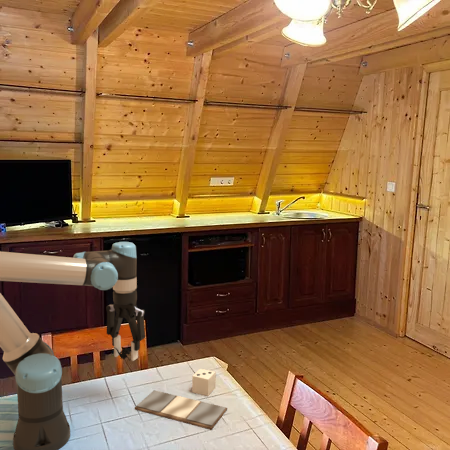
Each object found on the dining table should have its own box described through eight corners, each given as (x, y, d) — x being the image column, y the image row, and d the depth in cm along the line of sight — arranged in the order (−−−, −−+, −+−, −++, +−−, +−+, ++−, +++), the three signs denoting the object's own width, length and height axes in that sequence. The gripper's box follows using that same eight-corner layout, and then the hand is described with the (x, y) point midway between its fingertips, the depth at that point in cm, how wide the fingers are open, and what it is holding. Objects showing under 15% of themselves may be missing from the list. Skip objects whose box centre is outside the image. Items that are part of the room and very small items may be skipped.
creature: (122, 355, 162) (109, 359, 154) (124, 339, 162) (111, 343, 154) (142, 358, 159) (131, 363, 152) (144, 342, 160) (132, 346, 152)
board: (134, 409, 150) (134, 406, 150) (154, 391, 161) (154, 389, 161) (211, 429, 140) (211, 426, 140) (227, 409, 151) (227, 406, 151)
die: (192, 392, 161) (192, 375, 160) (199, 384, 167) (200, 368, 166) (208, 396, 159) (208, 379, 158) (215, 388, 164) (215, 371, 163)
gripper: (156, 290, 152) (156, 358, 156) (107, 283, 159) (109, 347, 163) (143, 297, 145) (144, 367, 149) (93, 289, 153) (95, 356, 156)
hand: (126, 357), depth 156 cm, fingers closed on creature, 6 cm apart
